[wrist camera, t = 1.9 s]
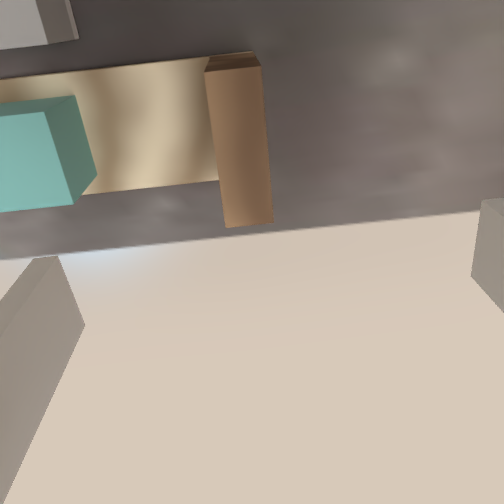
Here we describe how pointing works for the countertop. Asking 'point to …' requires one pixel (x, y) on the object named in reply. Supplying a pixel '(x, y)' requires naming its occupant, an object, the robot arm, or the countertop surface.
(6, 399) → the robot arm
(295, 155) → the countertop surface
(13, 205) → the teal block
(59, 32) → the gray rectangular block
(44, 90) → the wooden l-shaped stand
